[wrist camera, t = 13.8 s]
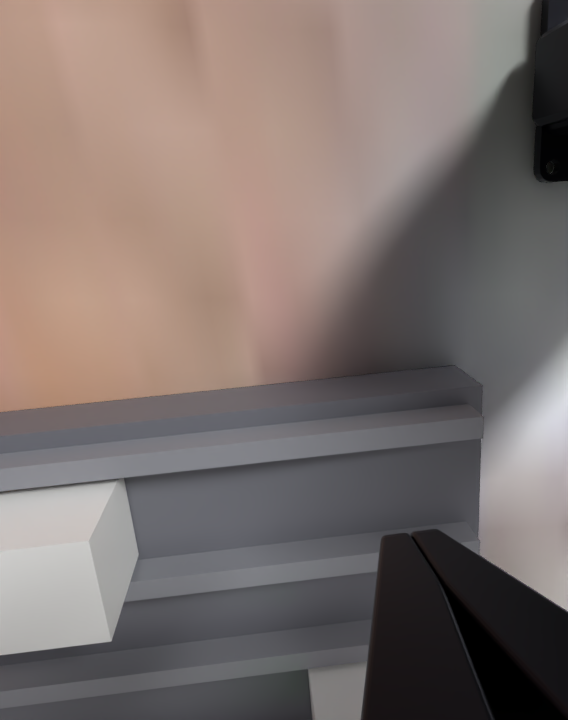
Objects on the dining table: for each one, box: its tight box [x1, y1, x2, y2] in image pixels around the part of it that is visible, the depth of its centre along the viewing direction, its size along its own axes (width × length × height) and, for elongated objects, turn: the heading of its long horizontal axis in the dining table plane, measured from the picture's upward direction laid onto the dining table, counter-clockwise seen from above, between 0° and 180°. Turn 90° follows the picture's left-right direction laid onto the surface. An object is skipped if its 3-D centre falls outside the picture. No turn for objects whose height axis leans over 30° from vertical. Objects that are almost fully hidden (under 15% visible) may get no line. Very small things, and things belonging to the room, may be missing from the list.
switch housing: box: [0, 365, 484, 720], centre depth 21 cm, size 20×16×4 cm
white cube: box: [0, 478, 139, 655], centre depth 16 cm, size 4×4×4 cm
